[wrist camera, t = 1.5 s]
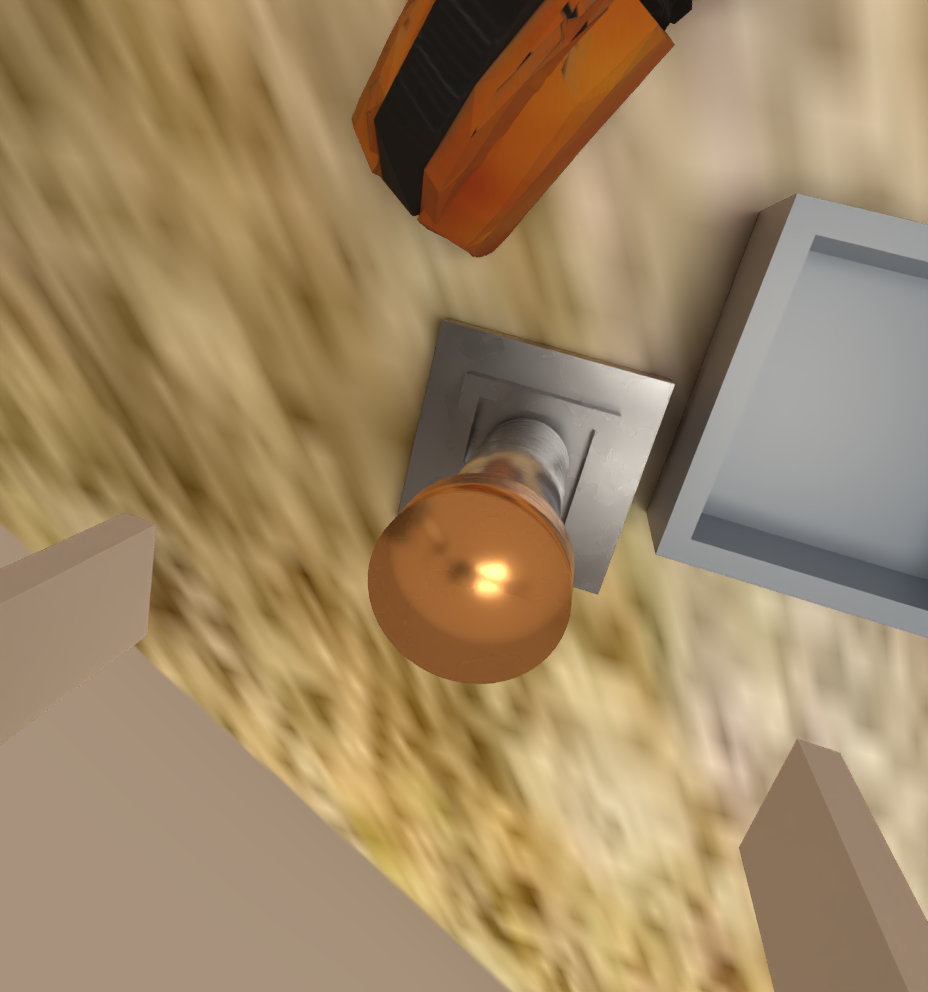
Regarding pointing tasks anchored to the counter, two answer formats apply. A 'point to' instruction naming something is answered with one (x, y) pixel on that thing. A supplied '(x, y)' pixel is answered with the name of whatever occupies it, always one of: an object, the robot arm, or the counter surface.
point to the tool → (499, 102)
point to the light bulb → (481, 562)
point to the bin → (812, 419)
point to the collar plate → (555, 402)
